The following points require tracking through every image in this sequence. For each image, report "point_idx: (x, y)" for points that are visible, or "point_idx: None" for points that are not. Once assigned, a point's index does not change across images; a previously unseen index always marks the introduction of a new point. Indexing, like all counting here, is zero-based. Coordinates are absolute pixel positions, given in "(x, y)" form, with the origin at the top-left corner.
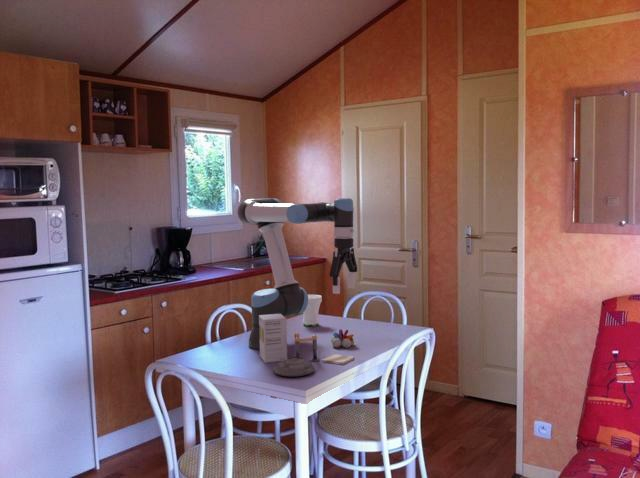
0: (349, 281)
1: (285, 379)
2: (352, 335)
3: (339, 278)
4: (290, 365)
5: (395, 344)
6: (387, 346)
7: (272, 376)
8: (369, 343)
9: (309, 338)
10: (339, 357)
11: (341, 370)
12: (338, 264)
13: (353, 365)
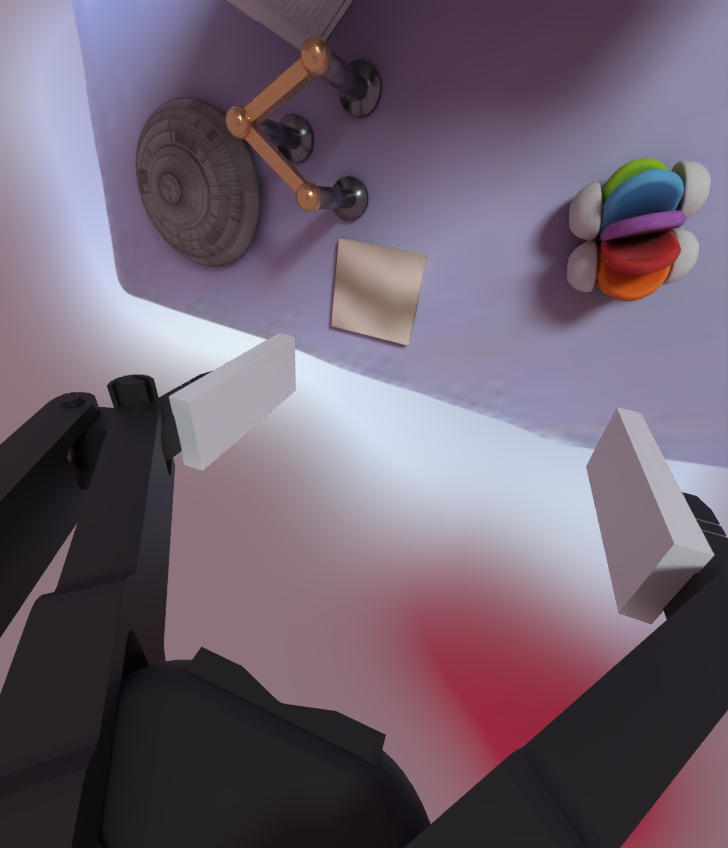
0: (624, 467)
1: None
2: (620, 299)
3: (208, 460)
4: (148, 195)
5: None
6: None
7: None
8: (682, 352)
9: (283, 179)
10: (385, 295)
11: None
12: (30, 582)
13: (339, 358)
